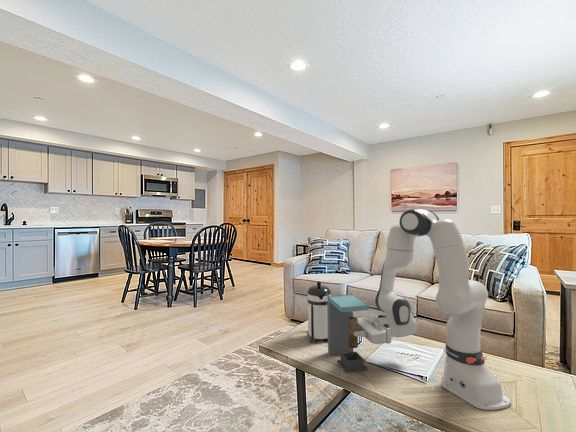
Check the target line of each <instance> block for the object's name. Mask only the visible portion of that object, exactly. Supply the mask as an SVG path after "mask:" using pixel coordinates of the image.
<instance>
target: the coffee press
mask: <svg viewBox="0 0 576 432" xmlns="http://www.w3.org/2000/svg"><path fill="white" fill-rule="evenodd" d="M306 294H307V328H308V329H307V331H308V332H307V335H308V336H309V337H310V339H309V341H310V342H311V343H314V342H315V340H325V339H326V340H327V341H328V305H327V296H332V290H331V289H330V287H328V286H327V285H322V282H321V281H317V283H316V285H312V286H309V288H308V289H307V291H306Z"/></svg>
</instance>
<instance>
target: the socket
mask: <svg viewBox="0 0 576 432" xmlns="http://www.w3.org/2000/svg"><path fill="white" fill-rule="evenodd" d="M339 354H340V359H337V360H336V363H337V364H338V365H339V366H340V368H341V369H342V370H343V372H344V373H345V374H350V373H351V374H352V373H361V372H368V371H369V368H368V367H367V366H366V365H365V359H364V358H363V357H362V356H361V355H360V353H359V352H358V351H353V352H348V353H339Z"/></svg>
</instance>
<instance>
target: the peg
mask: <svg viewBox="0 0 576 432" xmlns="http://www.w3.org/2000/svg"><path fill="white" fill-rule="evenodd" d="M358 318H359V317H355V316H353V317H349V318H348V341H349V347H350V348H353V349H357V348H358V347H359V336H354V335H353V331H358Z"/></svg>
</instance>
